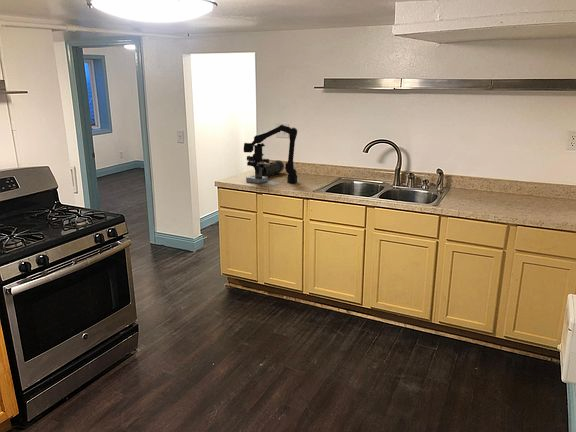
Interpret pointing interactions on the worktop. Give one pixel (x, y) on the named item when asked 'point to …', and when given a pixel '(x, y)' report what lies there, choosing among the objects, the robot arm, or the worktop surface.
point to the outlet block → (256, 179)
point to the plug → (259, 173)
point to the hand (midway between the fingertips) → (258, 174)
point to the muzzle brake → (272, 168)
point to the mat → (271, 183)
